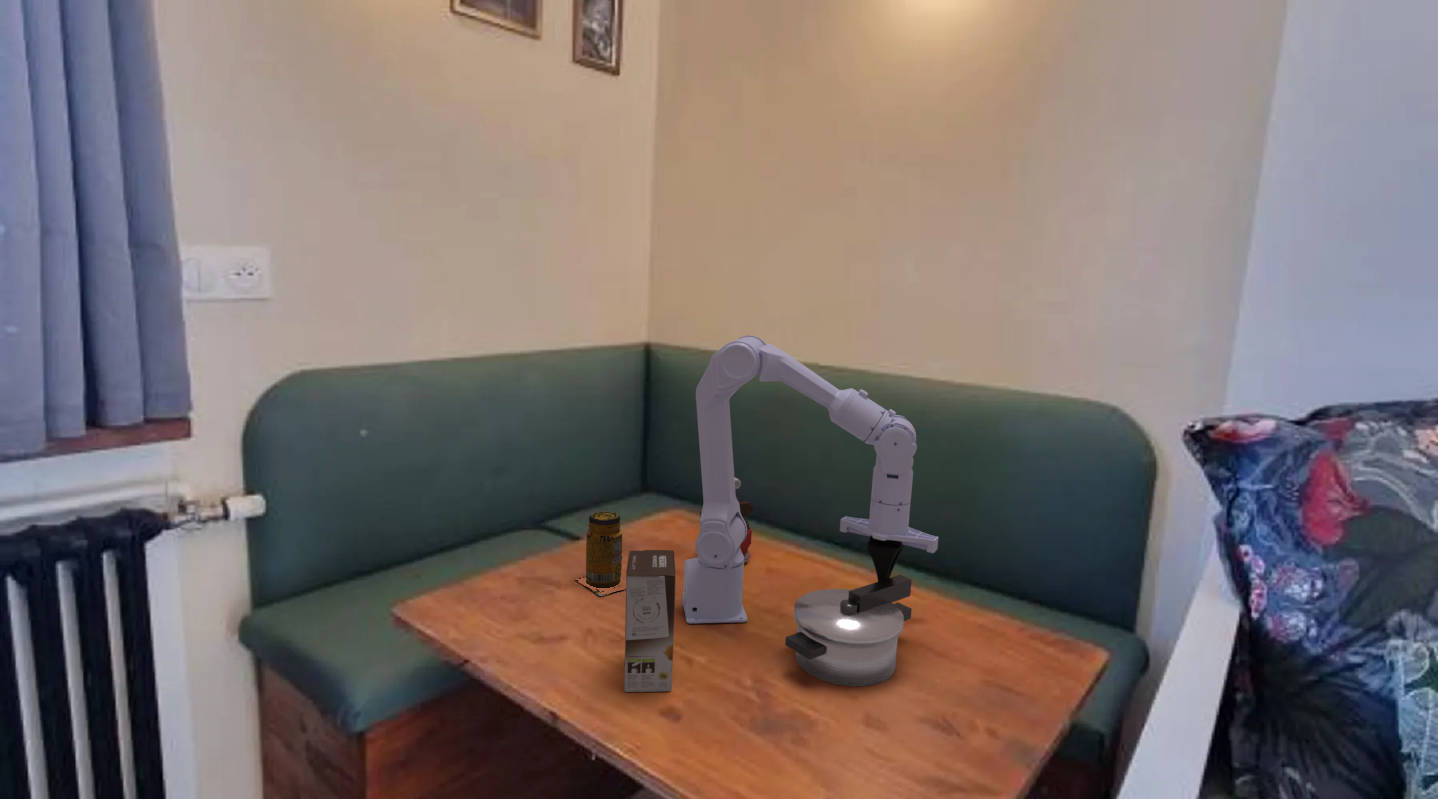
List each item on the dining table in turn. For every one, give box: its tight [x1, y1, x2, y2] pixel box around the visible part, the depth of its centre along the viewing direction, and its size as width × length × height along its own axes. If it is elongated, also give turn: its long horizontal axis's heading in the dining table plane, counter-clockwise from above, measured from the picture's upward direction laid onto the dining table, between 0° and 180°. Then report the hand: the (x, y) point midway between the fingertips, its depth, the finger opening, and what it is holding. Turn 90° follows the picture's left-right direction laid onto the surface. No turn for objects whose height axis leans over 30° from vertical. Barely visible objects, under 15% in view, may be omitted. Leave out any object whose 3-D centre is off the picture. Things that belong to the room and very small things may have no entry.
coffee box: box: [623, 549, 676, 693], centre depth 105 cm, size 9×6×16 cm
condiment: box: [585, 510, 623, 597], centre depth 134 cm, size 7×8×12 cm
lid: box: [793, 574, 912, 646], centre depth 112 cm, size 20×15×4 cm
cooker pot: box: [784, 601, 913, 687], centre depth 113 cm, size 22×14×6 cm, turn 128°
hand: (883, 586), depth 118 cm, fingers closed
